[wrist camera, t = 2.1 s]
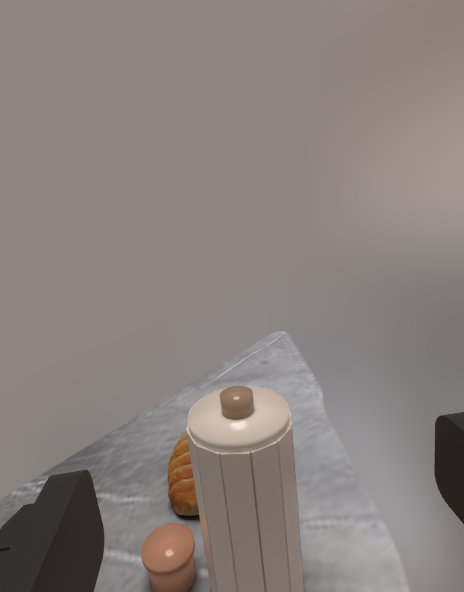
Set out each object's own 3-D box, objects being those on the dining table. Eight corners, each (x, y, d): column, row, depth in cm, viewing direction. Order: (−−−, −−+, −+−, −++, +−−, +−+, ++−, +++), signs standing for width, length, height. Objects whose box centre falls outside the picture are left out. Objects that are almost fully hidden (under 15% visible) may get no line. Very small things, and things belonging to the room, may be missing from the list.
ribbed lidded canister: (237, 660, 21) (206, 439, 17) (200, 572, 26) (171, 388, 22) (323, 606, 23) (311, 400, 19) (273, 535, 28) (257, 362, 24)
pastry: (234, 526, 29) (228, 483, 28) (150, 521, 31) (142, 481, 30) (249, 446, 38) (245, 412, 37) (184, 446, 39) (179, 413, 38)
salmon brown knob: (154, 613, 23) (147, 580, 23) (142, 567, 26) (136, 537, 26) (206, 585, 25) (201, 553, 24) (189, 545, 28) (184, 515, 27)
